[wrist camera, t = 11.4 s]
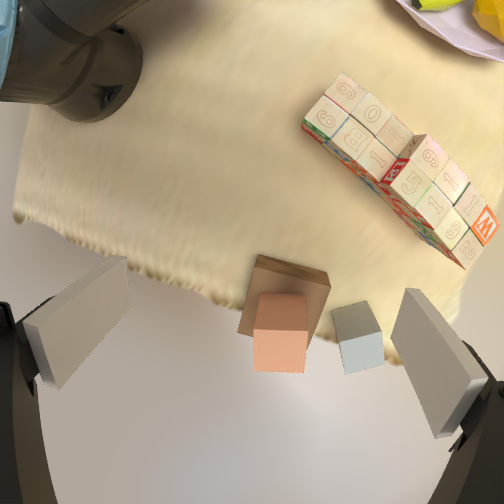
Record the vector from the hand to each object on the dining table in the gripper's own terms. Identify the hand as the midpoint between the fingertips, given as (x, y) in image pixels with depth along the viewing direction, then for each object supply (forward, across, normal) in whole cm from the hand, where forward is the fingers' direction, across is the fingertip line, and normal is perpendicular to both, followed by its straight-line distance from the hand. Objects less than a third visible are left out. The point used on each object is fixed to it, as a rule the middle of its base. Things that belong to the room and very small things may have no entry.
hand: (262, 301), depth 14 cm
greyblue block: (+24, +12, -14) cm, 31 cm away
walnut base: (+25, +2, -12) cm, 27 cm away
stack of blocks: (+25, +12, +6) cm, 29 cm away
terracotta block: (+20, +2, -12) cm, 23 cm away
